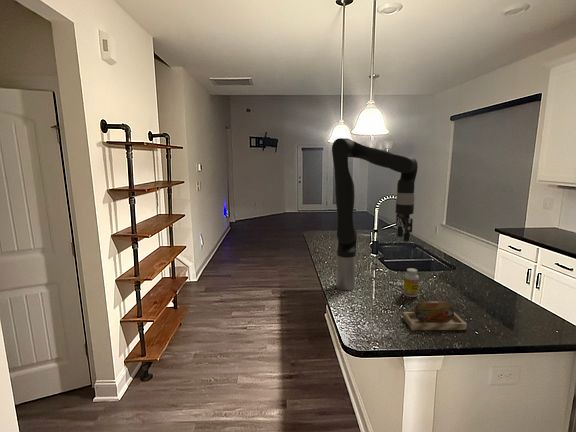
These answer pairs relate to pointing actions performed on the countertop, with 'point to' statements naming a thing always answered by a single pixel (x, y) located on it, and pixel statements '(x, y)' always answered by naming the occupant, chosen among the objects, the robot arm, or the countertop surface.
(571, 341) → the countertop surface
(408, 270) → the supplement bottle
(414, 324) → the tray
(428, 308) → the tin
